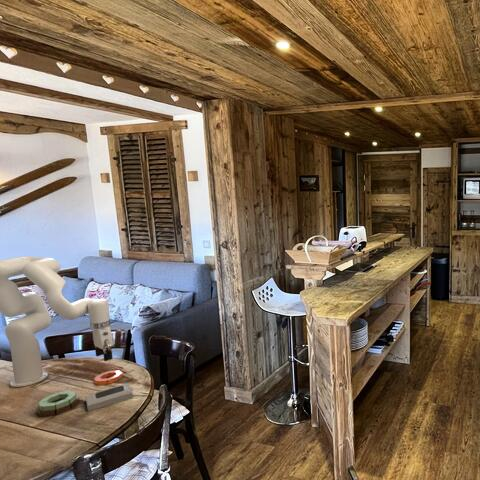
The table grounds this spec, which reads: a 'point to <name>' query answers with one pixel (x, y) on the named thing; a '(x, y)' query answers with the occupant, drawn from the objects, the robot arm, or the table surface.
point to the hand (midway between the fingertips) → (104, 357)
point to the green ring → (68, 396)
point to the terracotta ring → (101, 381)
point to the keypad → (108, 397)
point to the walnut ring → (58, 411)
